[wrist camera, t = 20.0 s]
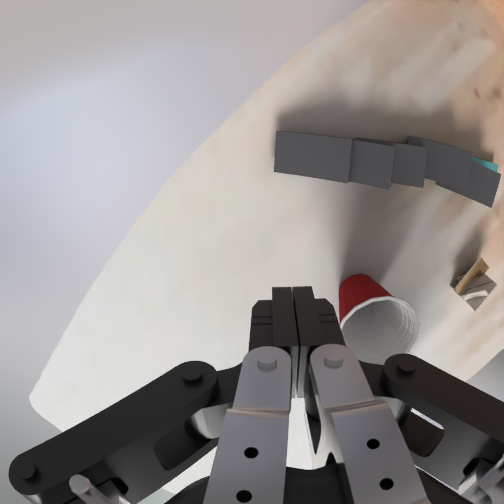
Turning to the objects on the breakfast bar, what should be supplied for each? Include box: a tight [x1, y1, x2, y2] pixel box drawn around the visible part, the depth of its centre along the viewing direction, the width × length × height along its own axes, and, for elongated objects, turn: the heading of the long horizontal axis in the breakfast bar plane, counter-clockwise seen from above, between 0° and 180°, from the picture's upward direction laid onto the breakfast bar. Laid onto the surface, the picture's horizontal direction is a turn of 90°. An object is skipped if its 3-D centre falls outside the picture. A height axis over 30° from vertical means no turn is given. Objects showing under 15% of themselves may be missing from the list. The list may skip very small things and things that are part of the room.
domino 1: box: [274, 131, 355, 183], centre depth 34 cm, size 2×5×9 cm
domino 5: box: [436, 161, 501, 208], centre depth 33 cm, size 2×5×9 cm
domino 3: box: [356, 138, 427, 188], centre depth 34 cm, size 2×5×9 cm
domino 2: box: [350, 140, 396, 189], centre depth 34 cm, size 2×5×9 cm
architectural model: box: [450, 257, 497, 312], centre depth 39 cm, size 3×7×7 cm, turn 145°
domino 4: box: [408, 136, 472, 190], centre depth 33 cm, size 2×5×9 cm
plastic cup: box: [339, 274, 419, 365], centre depth 38 cm, size 11×11×12 cm
